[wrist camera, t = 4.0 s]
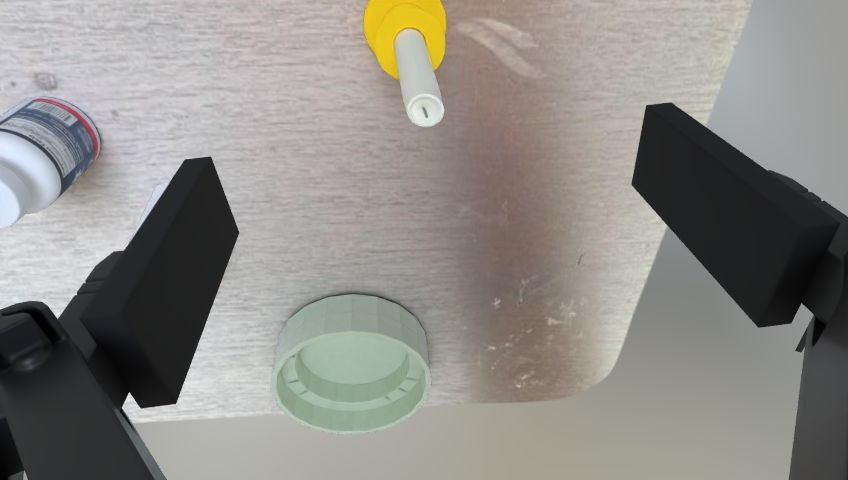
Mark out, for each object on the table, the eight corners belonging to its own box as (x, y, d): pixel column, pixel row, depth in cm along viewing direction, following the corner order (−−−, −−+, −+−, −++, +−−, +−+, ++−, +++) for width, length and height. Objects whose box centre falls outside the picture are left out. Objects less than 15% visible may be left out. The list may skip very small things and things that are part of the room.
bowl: (419, 281, 44) (424, 322, 40) (431, 382, 52) (436, 424, 48) (261, 300, 44) (250, 343, 40) (298, 399, 52) (292, 442, 48)
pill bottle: (51, 176, 35) (-30, 250, 28) (-5, 108, 32) (-113, 172, 25) (119, 155, 35) (53, 226, 28) (69, 84, 32) (-20, 143, 25)
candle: (414, 81, 34) (440, 198, 21) (347, 34, 32) (331, 134, 19) (462, 13, 31) (523, 99, 19) (393, -42, 29) (410, 13, 17)
